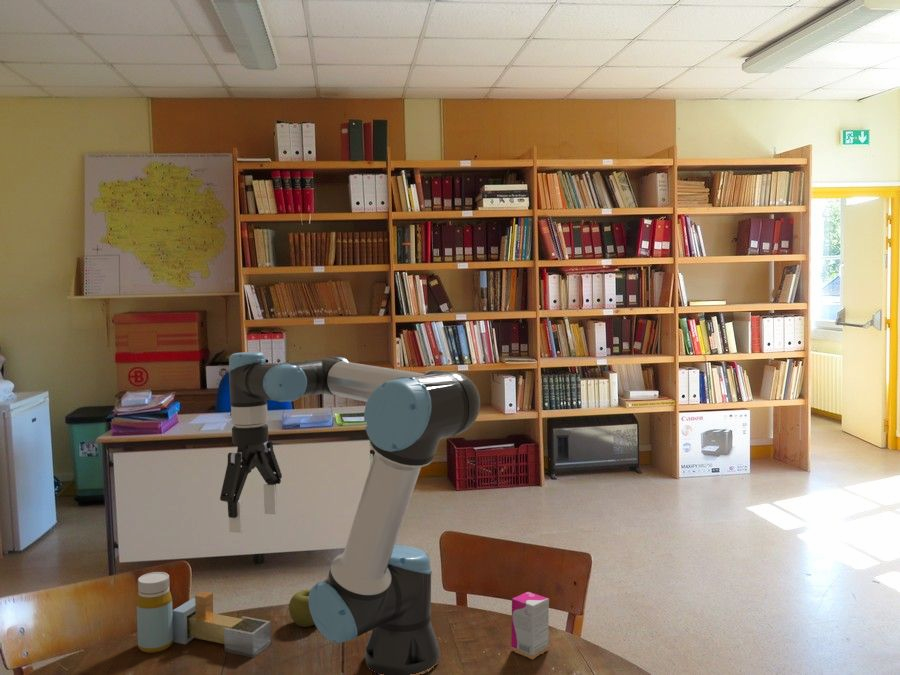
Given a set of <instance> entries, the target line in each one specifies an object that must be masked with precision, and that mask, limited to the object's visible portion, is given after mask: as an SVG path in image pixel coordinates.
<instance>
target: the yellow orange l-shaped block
mask: <svg viewBox="0 0 900 675" xmlns="http://www.w3.org/2000/svg"><path fill="white" fill-rule="evenodd" d="M194 598H195V612H193V613H191V614H190V615H188V616H187V636H188V637H193V638H194V639H198V640H204V641H207V642H212V643H213V642H214V643H218V644H223V645H225V639H224V629H225V628H231V629H236V630H241V631H244V623H243V619H241V618H239V617H233V616H228V615H223V614H219V613H218V614H217V613H214V593H213V592H209V591H204V590H202V591H201V592H199V593H197V594H195V595H194Z"/></svg>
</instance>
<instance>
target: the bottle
mask: <svg viewBox="0 0 900 675" xmlns="http://www.w3.org/2000/svg"><path fill="white" fill-rule="evenodd" d="M137 589H138V591H137V592H138V596H137V599H136V623H137V624H136V626H137V627H136V628H137V629H136V630H137V646H138V649H139V650H141V652H143V653H147V654H155V653H160V652H163V651H165V650H167V649H169V648H170V647H171V646H172V644H173V643H174V642H173V611H172V610H173V596H172V592H171V591H170V575H169V574H168V573H167V572H165V571H154V572H153V571H152V572H148V573H145V574H142V575H141V576H140V577H138V578H137Z"/></svg>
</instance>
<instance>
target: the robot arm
mask: <svg viewBox="0 0 900 675" xmlns="http://www.w3.org/2000/svg"><path fill="white" fill-rule="evenodd" d="M228 358H229V359H228V381H229V396H230V397H229V398H230V409H231V410H230V412H231V413H230V414H231V424H232V425H233V426H232V427H231V438H232V439H231V440H232V441H231V442H232V444H233V445H234V446H237V451H236V452H228V453H227V465H226V468H225V469H226V470H225V473H224V478H223V483H222V488H221V491H220V492H221V493H220V497H219V501H220V502H221V501H222V502H224V503H225V502H226V503H227V516H228V525H229V526H228V527H229V533H237V534H242V533H243V532H244V527H243V507H242V505H243V504H242V502H243V501H242V500H240V497H241V495H242V493H243V492H242V491H243V489H244V486H245V484H246V480H247V478H248V476H249V474H251V472H252V470H254V469H255V468H256V469H257V471H258V472H259V474H260V475H261V477H262V479H263V480H264V482H265V484H263V500H264V502H263V503H264V515H277V514H278V502H277V485H280V484H281V482H282V480H281V479H282V477H283V474H282V472H281V469H280V466H279V463H278V461H277V457H276V454H275V451H274V445H273V441H269V426H268V425H267V422H268V421H269V418H268V417H269V416H268V413H269V412H268V401H267V400H269V401H275V402H278V403H285V402H295V401H297V400H299V399H300V398H303V397H310V396H316V395H323V394H324V395H329V396H336V397H341V398H345V399H351V400H355V401H359V402H360V401H361V402H365V403H366V404H365V407H364V414H363V421H364V422H365V423H366V426H364V428H365V432H366V434H367V437H368V439H369V444H370V445H369V446H370V447H371V449H372V451H373V452H374V454H373V457H372V460H371V464H370V468H369V471H368V473H367V477H366V480H365V482H364V485H363V486H364V487H363V488H362V493H361V496H360V498H359V502H358V505H357V509H356V512H355V515H354V519H353V522H352V524H351V527H350V530H349V534H348V537H347V540H346V544H345V546H344V547H345V548H344V551H343V553H340V554H338V555H337V556H336V557H334V558H333V560H332V561H331V564H330V567H329V571H328V573H327V577H326V579H325V580H320V581H317V583H315V584H314V585H313V586H312V587H311V589H309V590H310V593H309V609H310V613H311V616H312V619H313V621H314V623H315V624H314V625H315V627H316V628H317V631H319V632H320V634H321V635H322V636H323V637H324V638H325V639H327V640H328V641H329V642H332V643H334V644H342V643H346V642H349V641H350V640H351V641H353V640H355V639H357V638H358V637H360V636H362V635H364V634H366V633H368V632H370V634H369V637H368V641H367V644H366V647H365V652H364V656H365V659H364V660H365V661H366V662H365V661H364V662H365V665H366V664H367V665H366V667H367V666H368V667H369V668H370V669H371V670H373V671H375V672H376V673H379V674H384V675H410V674H416V673H419V672H422V671H425V670H427V669H429V668H431V667H432V666H433V665H435V664H436V663H437V661H438V659H439V660H440V646H439V643H438V639H437V636H436V634H435V631H434V628H433V625H432V622H431V621H432V617H431V616H432V615H431V614H432V606H431V605H432V569H431V559H430V556H429V554H428V553H427V552H426V551H425V550H422V549H420V548H417V547H414V546H409V545H401V544H400V545H399V544H398V545H397V544H396V543H397V539H398V537H399V534H400V532H401V529H402V525H403V522H404V520H405V516H406V514H407V511H408V509H409V504H410V502H411V499H412V496H413V493H414V490H415V487H416V484H417V481H418V478H419V475H420V472H421V469H422V467H427V466H428V465H430V464H431V463H433V460H434V457H435V454H436V452H437V449H438V446H439V445H440V444H439V443H440V441H441V440H443V439H448V438H452V437H455V436H458V435H460V434H462V433H464V432H466V431H467V430H469V429H470V427H472V425H473V424H475V422H476V420H477V418H478V417H479V414H480V410H481V396H480V393H479V390H478V388H477V386H476V385H475V383H474V382H473V381H472V379H470V378H469V377H468V376H466V375H465V374H463V373H460V372H457V371H446V370H443V371H442V370H438V369H437V370H436V369H432V370H428V371H425V373H421V372H416V371H415V372H414V371H410V370H409V371H408V370H403V369H397V368H389V367H382V366H377V365H369V364H363V363H357V362H350V361H349V360H348V359H347V358H345V357H341V356H339V357H337V356H327V357H325V358H317V359H308V360H300V361H299V360H298V361H288V362H279V363H277V362H276V363H273V362H272V363H271V362H270V363H269V362H267V361H266V356H265V354H264V353H263V352H262V351H245V352H235V353H232V354H231V355H230V356H229V357H228ZM368 667H367V668H368ZM369 668H368V669H369ZM370 669H369V670H370ZM371 670H370V671H371ZM373 671H372V672H373ZM376 673H375V674H376ZM379 674H378V675H379Z"/></svg>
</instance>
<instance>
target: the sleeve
mask: <svg viewBox="0 0 900 675" xmlns="http://www.w3.org/2000/svg"><path fill="white" fill-rule="evenodd" d="M240 619H243V623H244V631H241V630H236V629H231V628H225V629H224V639H225V644H224V652H225V653H229V654H234V655H238V656H243V657H246V658H247V657H248V658H252V659H254V658H255V657H256V656H258V655H259V654H260V653H261V652H263V650H265V649H266V648H267V647H269V646H270V645H271V644H272V639H271V638H272V635H271V633H272V632H271V630H272V629H271V627H272V626H271V620H266V619H265V620H264V619H259V618H254V617H249V616H241V617H240Z"/></svg>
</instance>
